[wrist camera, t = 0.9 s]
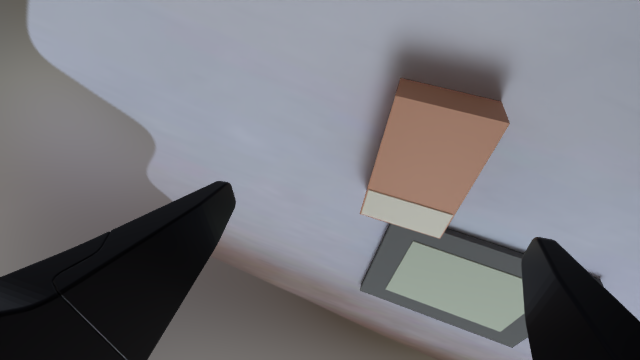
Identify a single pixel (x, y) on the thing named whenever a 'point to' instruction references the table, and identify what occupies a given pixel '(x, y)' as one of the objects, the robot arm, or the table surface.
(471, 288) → the mat
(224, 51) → the table surface
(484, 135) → the block
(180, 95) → the table surface
